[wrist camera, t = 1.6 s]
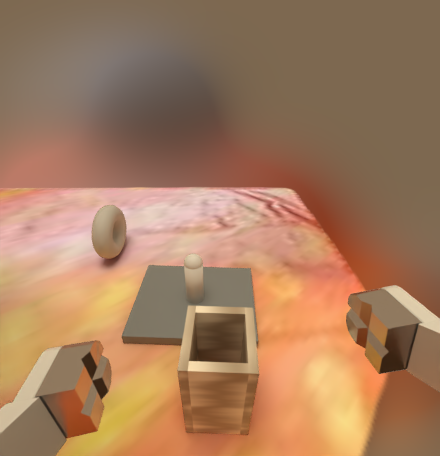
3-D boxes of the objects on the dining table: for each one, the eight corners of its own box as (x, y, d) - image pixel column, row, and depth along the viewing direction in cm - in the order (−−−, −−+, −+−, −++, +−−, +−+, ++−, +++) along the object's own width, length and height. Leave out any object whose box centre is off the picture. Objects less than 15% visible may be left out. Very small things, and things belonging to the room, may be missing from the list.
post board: (123, 342, 35) (107, 292, 30) (149, 271, 47) (141, 225, 42) (256, 347, 35) (265, 297, 30) (250, 274, 47) (254, 229, 41)
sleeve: (186, 432, 27) (177, 370, 20) (193, 370, 32) (188, 305, 26) (247, 434, 27) (259, 373, 20) (244, 372, 32) (252, 307, 26)
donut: (115, 270, 47) (102, 223, 42) (96, 270, 47) (81, 223, 42) (132, 238, 56) (123, 195, 50) (116, 237, 56) (105, 195, 50)
